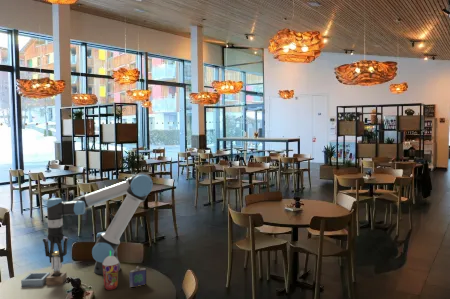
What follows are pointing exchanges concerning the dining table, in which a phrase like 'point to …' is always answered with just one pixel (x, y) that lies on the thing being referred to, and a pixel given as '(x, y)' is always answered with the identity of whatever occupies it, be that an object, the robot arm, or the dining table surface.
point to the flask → (137, 277)
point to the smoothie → (110, 272)
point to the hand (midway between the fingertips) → (56, 268)
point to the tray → (34, 279)
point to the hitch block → (56, 279)
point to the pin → (56, 263)
